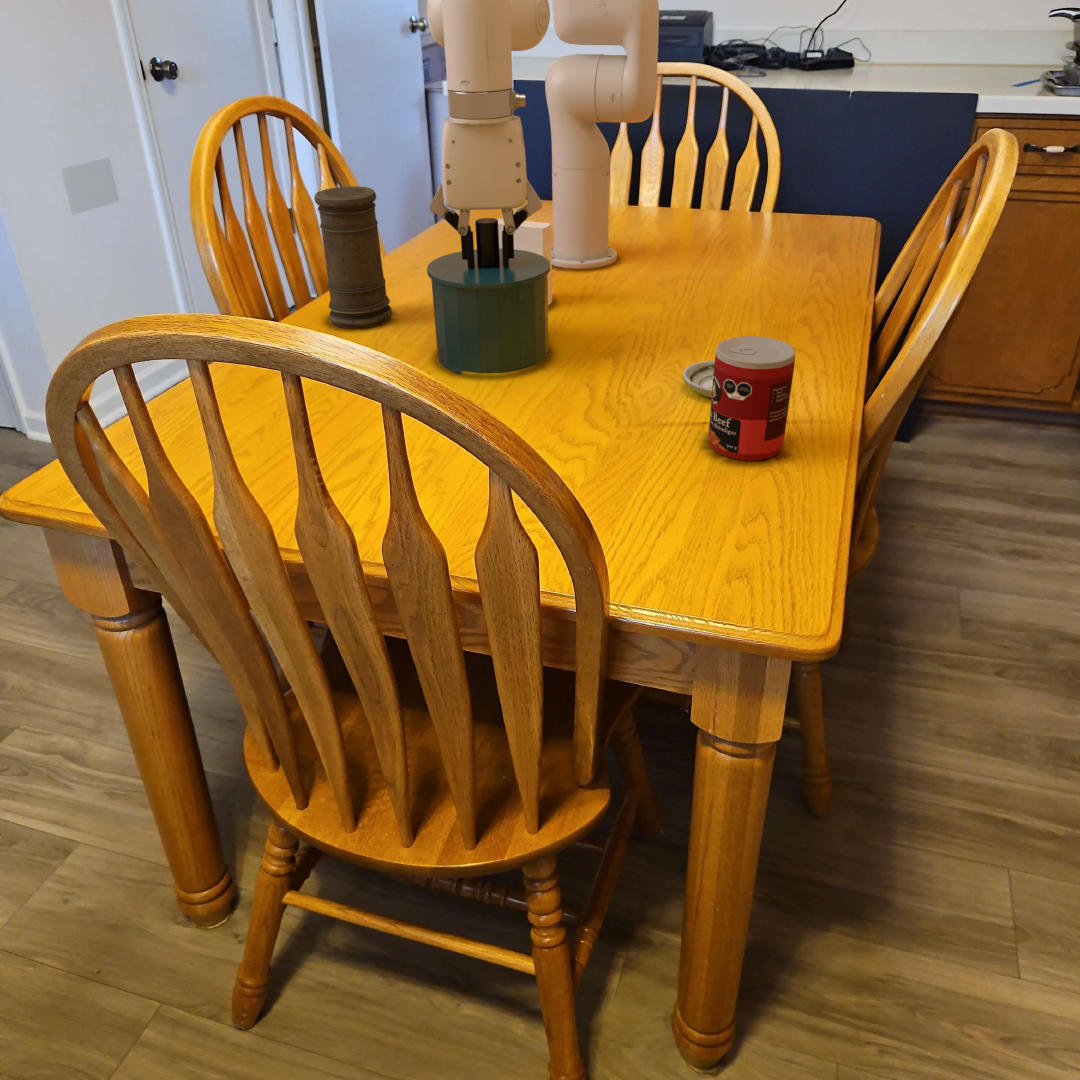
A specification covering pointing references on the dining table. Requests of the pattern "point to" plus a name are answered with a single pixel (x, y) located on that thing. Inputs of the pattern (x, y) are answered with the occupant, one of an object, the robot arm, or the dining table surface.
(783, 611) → the dining table surface
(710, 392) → the saucer
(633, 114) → the robot arm
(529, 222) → the base with upright slab
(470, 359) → the pot
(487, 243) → the lid
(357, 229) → the container
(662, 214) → the dining table surface
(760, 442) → the canned food
